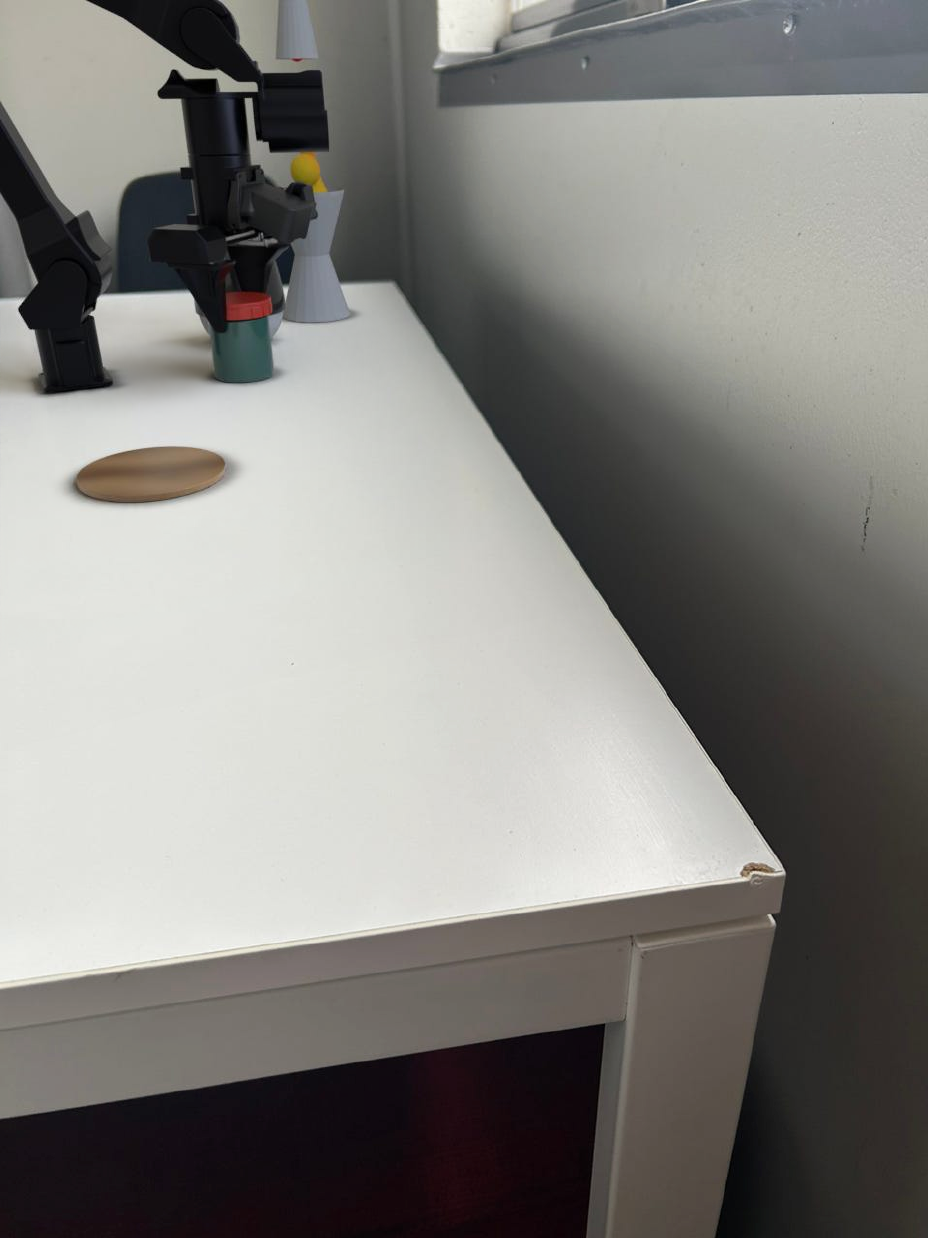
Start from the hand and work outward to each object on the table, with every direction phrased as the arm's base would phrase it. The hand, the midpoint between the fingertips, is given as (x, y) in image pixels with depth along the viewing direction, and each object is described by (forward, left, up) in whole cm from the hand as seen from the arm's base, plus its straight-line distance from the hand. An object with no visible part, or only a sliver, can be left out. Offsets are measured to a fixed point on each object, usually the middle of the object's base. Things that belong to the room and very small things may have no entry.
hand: (239, 325), depth 99 cm
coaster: (+26, -14, -5) cm, 30 cm away
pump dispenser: (-15, +4, -5) cm, 16 cm away
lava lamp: (-25, +16, -5) cm, 30 cm away
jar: (0, 0, -5) cm, 5 cm away
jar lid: (0, 0, +2) cm, 2 cm away
